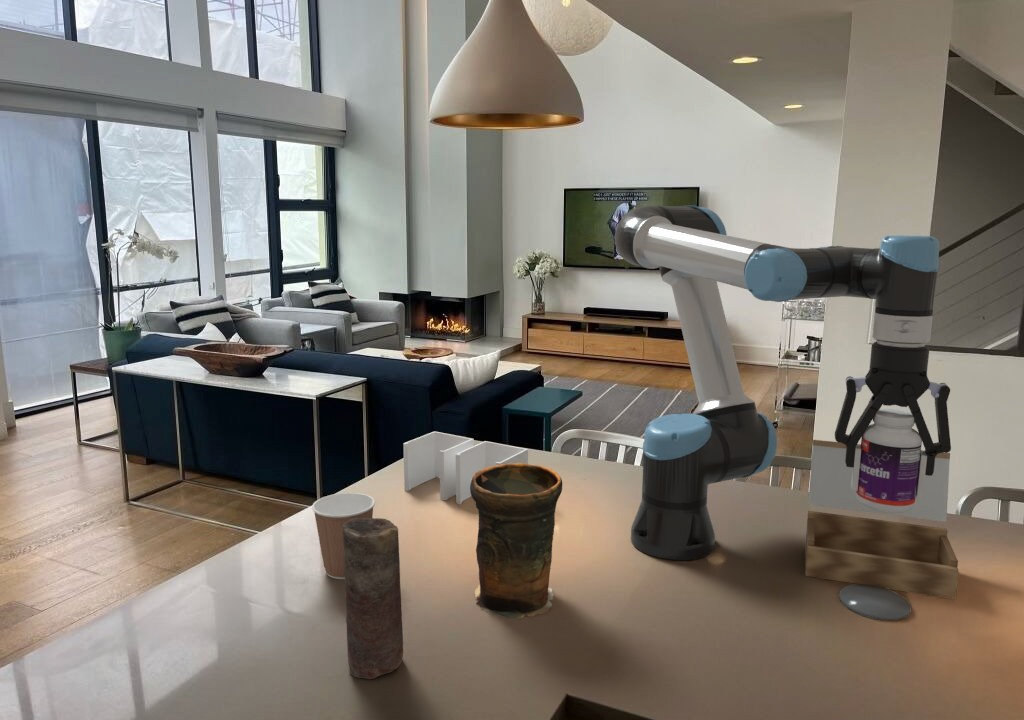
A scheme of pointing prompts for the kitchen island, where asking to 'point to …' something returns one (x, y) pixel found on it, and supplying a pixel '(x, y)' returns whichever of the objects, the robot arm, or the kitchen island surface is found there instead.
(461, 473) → the storage container
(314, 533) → the kitchen island surface
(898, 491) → the pill bottle
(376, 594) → the candle
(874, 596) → the grey oval disc
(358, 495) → the coffee cup
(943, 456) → the lid
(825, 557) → the wooden box
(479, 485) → the vessel
